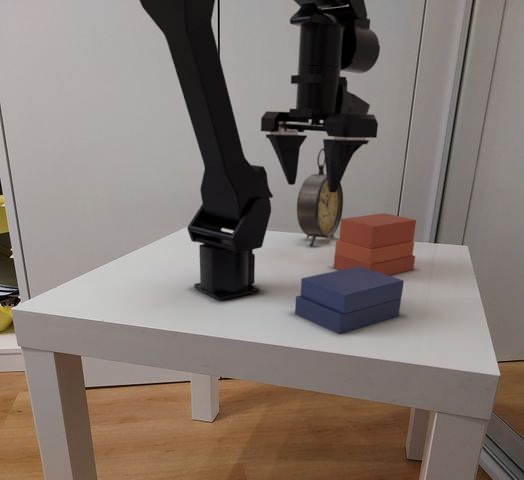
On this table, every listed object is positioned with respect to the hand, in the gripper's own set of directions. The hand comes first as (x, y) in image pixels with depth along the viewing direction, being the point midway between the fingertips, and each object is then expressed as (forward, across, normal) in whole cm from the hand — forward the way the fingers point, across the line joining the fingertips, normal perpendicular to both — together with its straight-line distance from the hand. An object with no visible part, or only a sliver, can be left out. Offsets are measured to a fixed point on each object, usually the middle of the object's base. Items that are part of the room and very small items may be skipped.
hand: (311, 188), depth 77 cm
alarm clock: (+12, +12, -13) cm, 21 cm away
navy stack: (+12, -19, +9) cm, 24 cm away
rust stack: (+12, -6, -8) cm, 16 cm away
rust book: (+7, -6, -8) cm, 13 cm away
